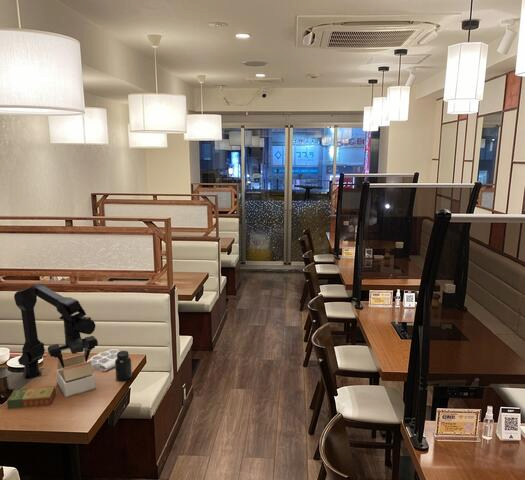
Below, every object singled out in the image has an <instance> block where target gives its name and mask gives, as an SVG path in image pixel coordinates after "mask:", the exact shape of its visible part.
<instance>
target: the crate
mask: <svg viewBox="0 0 525 480" xmlns="http://www.w3.org/2000/svg"><path fill="white" fill-rule="evenodd" d="M63 369H64V368H61V369H57V370H55V372H56V373H55V375H56V384H57V386H58V387H59V389H60V390H61V392H62V394H63V396H64V397H65V398H69V397H73V396H76V395H79V394H83V393H86V392H90V391H93V389H94V390H96V376H95V374H94V373H93V374H91V375H87V376H84V377H80V378H76V379H73V380H69V381H65V377H64V372H63Z"/></svg>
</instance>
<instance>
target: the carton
mask: <svg viewBox="0 0 525 480" xmlns="http://www.w3.org/2000/svg"><path fill="white" fill-rule="evenodd" d="M56 389H57V388H56V386H53V385H52V386H43V387H32V388H31V387H30V388H19V389H17V388H16V389H14V390H13V391H12V393H11V394H10V395H9V397H8V398H7V401H6V402H7V403H6V405H7V408H8V409H20V408H31V407H42V406H45V407H46V406H51V405H52V404H53V402H54V400H55V397H56V396H57V390H56Z"/></svg>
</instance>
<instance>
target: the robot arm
mask: <svg viewBox="0 0 525 480" xmlns="http://www.w3.org/2000/svg"><path fill="white" fill-rule="evenodd" d="M13 297H14V303H15V305H16V306H17V308H18V309H19V310H20V312H21V318H22V319H21V320H22V327H23V334H24V343H23V346H22V353H21V354H22V355H21V356H20V357H19V358H18V359H17V361H18V364H19V365H21V366H23V367H24V372H22V374H23V376H24V379H26V380H27V379H31V378H35V377H38V376H42V372H41V370H40V364H39V360H43V357H44V355H45V351H46V349H45V343H44V342H42V341H40V340H39V337H38V331H37V330H38V329H37V322H36V316H35V315H36V314H35V306H36V304H37V301H38V298H40V299H41V300H43V301H45V302H46V303H48V304H49V305H51V306H53V307H54V308H56V311H57V313H59V314H60V315H61V316H59V320H63V329H64V331H63V332H64V339H65V340H64V343H65V344H64V345H59V343H56V344H52V345H49V346H48V347H47V353H48V354H49V356H50V357H51V358H52V357H54V358H57V360H59V361H60V363H61V365H62V367H63V368H62V369H64V363H63V359H64V358H63V354H62V351H67V350H70V352H71V354H73V355H75V354H78V353H83V352H84V353H83V354H85V358H84V363H85V362H87V361H88V360H89V357H90V353H91V351H92V350H93V349H95V347H97V346H99V341H98V339H97V338H96V336H94V335H92V334H93V333H94V331H95V329H96V322H95V321H94V320H92V318H91V316H86V315H87V313H86V310H85V309H84V308H83V307H82V305H81V303H80V301H79V300H78V299H76V298H73V297H69V296H68V297H66V296H63V295H62V294H61V295H60V294H59V293H57V292H56V291H53V290H52V289H50V288H48V287H47V286H45V284H43V283H37V284H34V285H32V286H30V287H26V288H25V289H24V288H23V289H21V290H18V291H16V292H15V293H14V295H13ZM81 334H85V335H91V336H85V337H84V338H82V336H81Z"/></svg>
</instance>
